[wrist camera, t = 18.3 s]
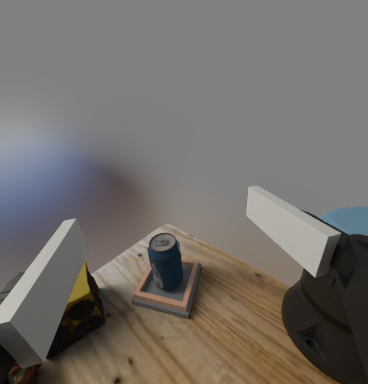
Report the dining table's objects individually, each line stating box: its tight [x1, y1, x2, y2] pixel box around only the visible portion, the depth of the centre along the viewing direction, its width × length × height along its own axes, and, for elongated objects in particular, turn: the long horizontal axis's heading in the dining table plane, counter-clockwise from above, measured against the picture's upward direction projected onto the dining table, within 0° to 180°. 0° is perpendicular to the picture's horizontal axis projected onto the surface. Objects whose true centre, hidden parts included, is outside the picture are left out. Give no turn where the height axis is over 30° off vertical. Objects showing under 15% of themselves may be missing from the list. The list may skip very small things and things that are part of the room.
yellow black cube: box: [46, 261, 105, 359], centre depth 34 cm, size 10×10×10 cm
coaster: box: [131, 258, 201, 319], centre depth 41 cm, size 13×13×3 cm
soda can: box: [148, 233, 183, 291], centre depth 38 cm, size 7×7×12 cm
